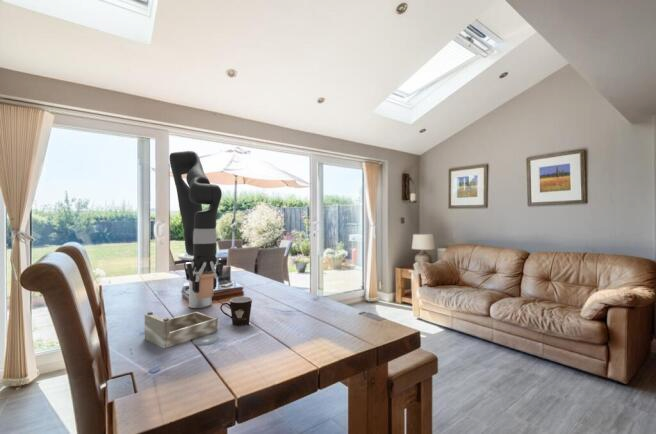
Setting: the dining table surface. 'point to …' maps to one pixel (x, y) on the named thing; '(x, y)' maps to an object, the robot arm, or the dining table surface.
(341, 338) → the dining table surface
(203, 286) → the pot
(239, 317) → the coffee mug
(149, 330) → the wooden box
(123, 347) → the dining table surface
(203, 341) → the saucer
